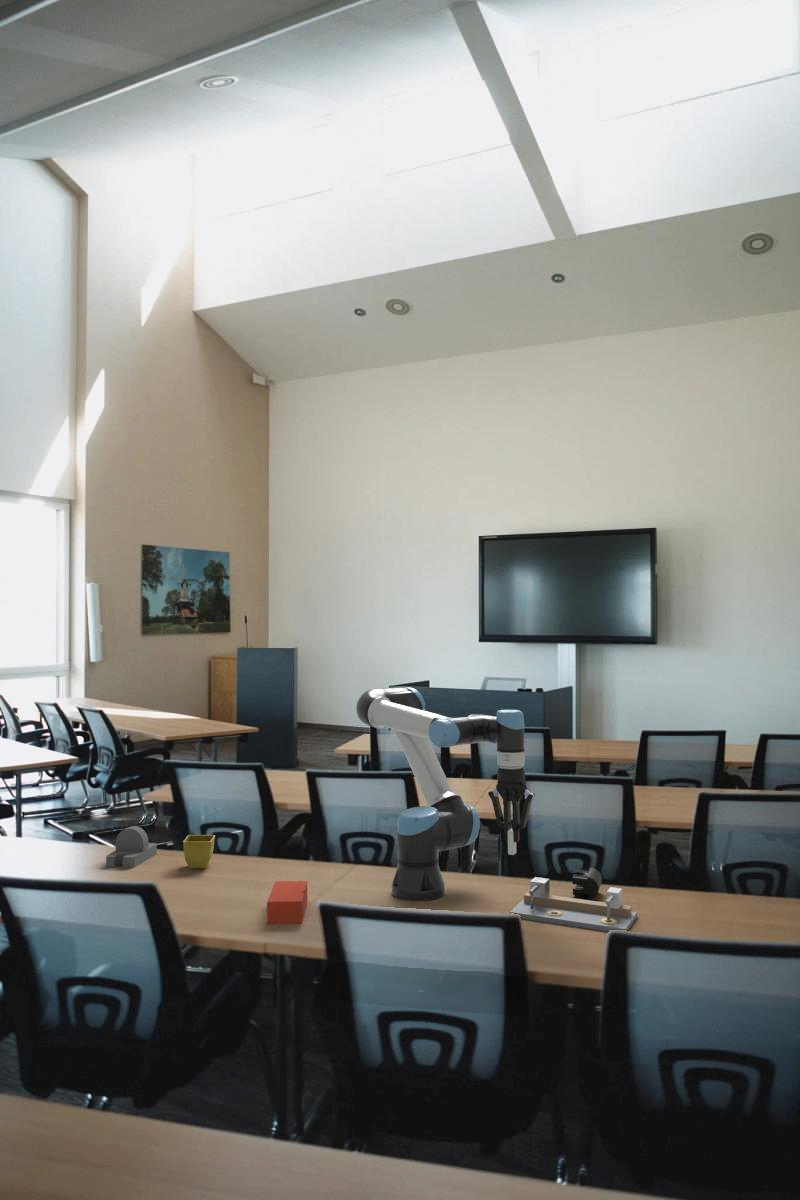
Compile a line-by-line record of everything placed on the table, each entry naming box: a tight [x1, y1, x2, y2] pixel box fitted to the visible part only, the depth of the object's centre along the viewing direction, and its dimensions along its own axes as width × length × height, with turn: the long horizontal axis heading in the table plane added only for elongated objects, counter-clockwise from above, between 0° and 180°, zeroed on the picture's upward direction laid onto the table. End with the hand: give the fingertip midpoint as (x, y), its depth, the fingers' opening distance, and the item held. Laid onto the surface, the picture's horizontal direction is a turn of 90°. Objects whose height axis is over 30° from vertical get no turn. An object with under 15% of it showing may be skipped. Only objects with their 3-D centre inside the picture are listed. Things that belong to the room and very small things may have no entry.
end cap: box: [572, 867, 603, 901], centre depth 247 cm, size 10×7×7 cm
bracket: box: [105, 825, 158, 869], centre depth 287 cm, size 10×18×11 cm, turn 171°
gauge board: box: [509, 886, 638, 932], centre depth 230 cm, size 30×14×7 cm, turn 64°
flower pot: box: [182, 834, 216, 869], centre depth 278 cm, size 9×9×9 cm
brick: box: [266, 880, 308, 925], centre depth 234 cm, size 18×9×6 cm, turn 1°
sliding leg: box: [528, 876, 551, 909], centre depth 234 cm, size 4×10×6 cm, turn 154°
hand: (512, 853), depth 241 cm, fingers closed
